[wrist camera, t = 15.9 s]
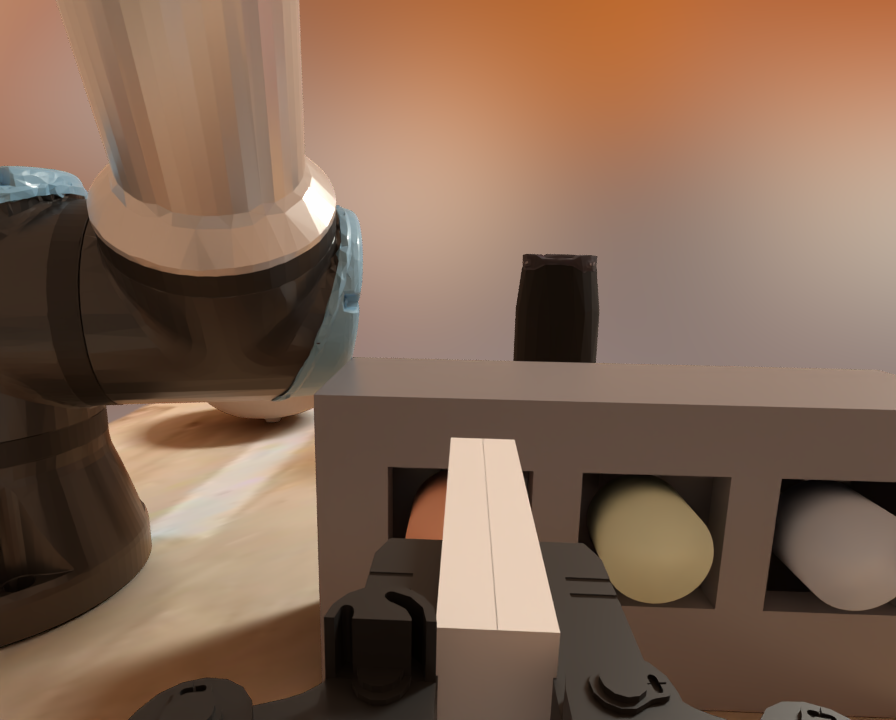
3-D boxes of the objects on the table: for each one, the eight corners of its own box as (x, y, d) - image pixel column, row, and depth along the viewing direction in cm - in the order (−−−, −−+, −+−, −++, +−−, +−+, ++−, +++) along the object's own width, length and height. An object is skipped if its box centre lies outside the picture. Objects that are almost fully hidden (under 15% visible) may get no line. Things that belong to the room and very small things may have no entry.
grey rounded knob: (797, 608, 23) (812, 507, 22) (728, 534, 28) (739, 453, 28) (907, 612, 22) (928, 511, 22) (816, 537, 28) (829, 455, 28)
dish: (331, 397, 75) (330, 361, 74) (365, 428, 63) (364, 385, 62) (187, 412, 67) (184, 372, 66) (193, 451, 55) (189, 402, 54)
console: (322, 694, 25) (313, 394, 22) (356, 588, 33) (353, 357, 30) (956, 720, 24) (1027, 413, 22) (837, 606, 32) (878, 369, 30)
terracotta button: (404, 594, 23) (404, 495, 22) (417, 524, 29) (417, 443, 28) (510, 598, 23) (515, 498, 22) (501, 527, 29) (504, 446, 28)
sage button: (598, 601, 23) (606, 501, 22) (571, 529, 29) (577, 448, 28) (707, 605, 23) (719, 505, 22) (657, 532, 29) (665, 450, 28)
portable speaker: (538, 414, 69) (547, 254, 65) (606, 432, 63) (620, 255, 59) (493, 428, 63) (500, 253, 59) (563, 450, 57) (575, 254, 53)
